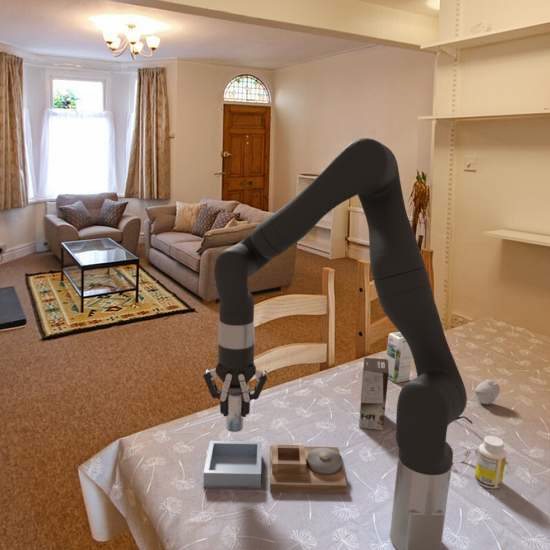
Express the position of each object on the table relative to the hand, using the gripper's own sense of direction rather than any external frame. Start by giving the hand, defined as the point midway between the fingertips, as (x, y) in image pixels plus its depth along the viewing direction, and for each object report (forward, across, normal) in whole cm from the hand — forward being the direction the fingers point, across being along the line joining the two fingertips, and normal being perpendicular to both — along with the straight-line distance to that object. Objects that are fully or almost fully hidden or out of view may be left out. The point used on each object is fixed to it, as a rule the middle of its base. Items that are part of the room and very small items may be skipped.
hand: (235, 414), depth 112 cm
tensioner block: (+14, +16, 0) cm, 21 cm away
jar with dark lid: (+3, 0, 0) cm, 3 cm away
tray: (+14, 0, 0) cm, 14 cm away
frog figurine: (+14, +70, +34) cm, 79 cm away
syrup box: (+14, +48, +49) cm, 70 cm away
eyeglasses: (+14, +53, +14) cm, 57 cm away
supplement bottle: (+14, +56, -2) cm, 58 cm away
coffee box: (+14, +35, +23) cm, 44 cm away
